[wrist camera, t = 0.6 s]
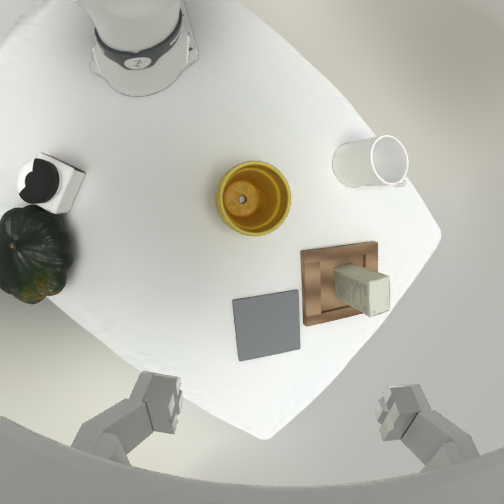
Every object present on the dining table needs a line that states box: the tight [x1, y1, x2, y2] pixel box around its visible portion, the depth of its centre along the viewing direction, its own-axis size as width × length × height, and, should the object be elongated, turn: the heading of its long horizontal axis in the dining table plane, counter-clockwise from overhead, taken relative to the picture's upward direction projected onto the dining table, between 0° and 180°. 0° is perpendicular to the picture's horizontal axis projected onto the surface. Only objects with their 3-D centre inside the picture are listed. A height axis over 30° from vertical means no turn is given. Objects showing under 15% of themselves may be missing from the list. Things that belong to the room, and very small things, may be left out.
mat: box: [232, 290, 300, 361], centre depth 56 cm, size 12×12×1 cm
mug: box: [332, 135, 408, 188], centre depth 51 cm, size 12×8×12 cm
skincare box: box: [334, 263, 390, 317], centre depth 53 cm, size 6×4×12 cm
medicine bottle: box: [17, 152, 86, 214], centre depth 38 cm, size 7×7×12 cm
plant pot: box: [216, 161, 291, 236], centre depth 47 cm, size 10×10×10 cm
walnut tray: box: [301, 241, 378, 326], centre depth 58 cm, size 14×16×2 cm
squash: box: [0, 205, 73, 304], centre depth 39 cm, size 14×15×15 cm
